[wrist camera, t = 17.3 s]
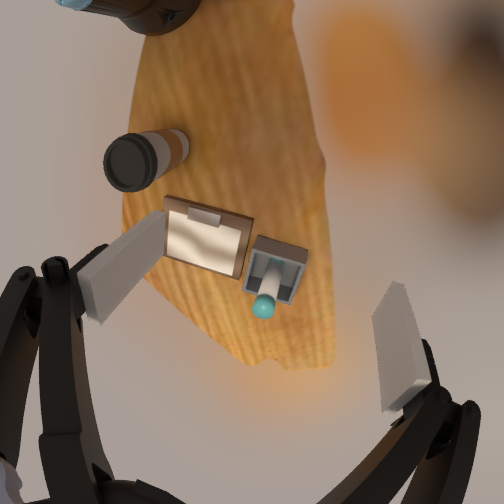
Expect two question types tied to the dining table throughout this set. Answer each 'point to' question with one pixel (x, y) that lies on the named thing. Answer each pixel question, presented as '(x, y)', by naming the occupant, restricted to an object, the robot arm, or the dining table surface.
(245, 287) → the grey open box
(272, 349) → the dining table surface
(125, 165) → the coffee cup
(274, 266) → the marker
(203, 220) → the clipboard
